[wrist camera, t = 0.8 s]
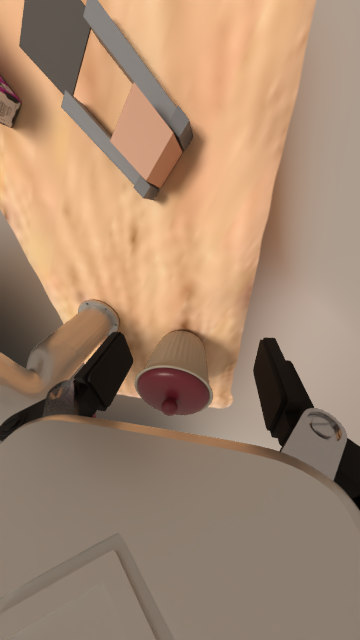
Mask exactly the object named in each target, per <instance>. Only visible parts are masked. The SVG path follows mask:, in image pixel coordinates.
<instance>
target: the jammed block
mask: <svg viewBox="0 0 360 640" xmlns="http://www.w3.org/2000/svg"><path fill="white" fill-rule="evenodd" d="M110 142H111V143H112V144H113V145H114V146H115V147H116V148H117V149H118V151H119V152H120V153H121V154H122V155H123V156H124V157H125V158H126V159H127V160H128V162H129V163H130V164H131V165H132V166H133V167H134V168H135V169H136V170H137V172H138V173H139V174H140V175H141V176H142V177H143V178H144V179H145V180H146V181H147V182H149V183H151V184H153V185H155V186H157V187H159V188H161V186H162V185H163V183H164V182H165V180H166V178H167V177H168V175H169V174H170V172H171V171H172V169H173V167H174V166H175V164H176V163H177V161H178V159H179V158H180V156H181V155H182V153H183V152H182V150H181V148H180V146H179V144H178V142H177V140H176V138H175V135H174V133H173V132H172V130H171V129H170V128H169V127H168V125H167V124H166V123H165V121H164V120H163V119H162V118H161V116H160V115H159V114H158V112H157V111H156V110H155V109H154V107H153V106H152V105H151V103H150V102H149V101H148V99H147V98H146V97H145V96H144V94H143V93H142V92H141V90H140V89H139V88H138V87H137V85H136V84H135V83H133V85H132V88H131V90H130V93H129V95H128V98H127V100H126V103H125V105H124V108H123V110H122V113H121V115H120V117H119V120H118V122H117V125H116V127H115V130H114V132H113V135H112V137H111V140H110Z"/></svg>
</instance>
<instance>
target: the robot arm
mask: <svg viewBox="0 0 360 640" xmlns="http://www.w3.org/2000/svg"><path fill="white" fill-rule="evenodd" d="M118 328H119V319H118V316H117V314H116V313H115V311H114V310H113V309H112V308H111V307H109V306H108V305H107V304H105V303H103V302H101V301H98V300H87V301H85V302H83V303H82V304H81V305H80V306H79V309H78V314H77V315H76V316H74V317H73V318H72V319H70V320H69V321H68V322H66V323H65V324H64V325H62V326H61V327H60V328H59V329H57V330H56V331H55V332H53V333H52V334H51V335H49V336H48V337H47V338H45V339H44V340H43V341H41V342H40V343H39V344H38V345H37V346H35V348H34V349H33V350H32V352H31V354H30V356H29V359H28V363H27V368H26V369H25V368H23V367H21V366H20V365H18V364H17V363H15V362H14V361H12V360H11V359H10V358H8V357H7V356H5V355H4V354H2V353H1V352H0V640H360V447H359V446H358V445H356V444H355V443H354V442H352V441H351V440H349V439H348V438H347V434H346V431H345V429H344V427H343V426H342V425H341V423H340V422H339V421H338V420H337V419H336V418H335V417H333V416H332V415H331V414H329V413H327V412H325V411H323V410H320V409H317V408H314V406H313V404H312V402H311V400H310V398H309V396H308V394H307V392H306V390H305V388H304V386H303V384H302V382H301V380H300V378H299V376H298V374H297V372H296V370H295V368H294V366H293V364H292V363H291V361H286V360H285V359H284V356H283V354H282V352H281V350H280V348H279V346H278V343H277V341H276V339H275V338H264V339H263V340H260V343H259V348H258V351H257V356H256V360H255V364H254V370H253V371H254V377H255V381H256V386H257V390H258V394H259V399H260V403H261V407H262V412H263V416H264V420H265V425H266V428H267V430H269V431H270V432H271V436H272V437H274V438H278V441H279V444H280V445H281V446H282V448H281V449H280V451H275V450H273V449H269V448H264V447H260V446H256V445H251V444H246V443H240V442H235V441H230V440H224V439H219V438H213V437H207V436H201V435H195V434H190V433H184V432H178V431H172V430H166V429H160V428H154V427H148V426H142V425H136V424H130V423H124V422H118V421H111V420H105V419H99V418H96V416H95V412H96V410H100V411H106V409H107V407H108V406H110V405H111V403H112V401H113V399H114V397H115V395H116V394H117V392H118V390H119V388H120V386H121V384H122V382H123V381H124V379H125V377H126V375H127V373H128V371H129V369H130V368H131V366H132V364H133V358H132V355H131V353H130V350H129V347H128V345H127V342H126V339H125V337H124V335H123V334H122V333H121V332H116V331H117V330H118ZM105 336H108V338H107V339H106V340H105V341H104V342H103V344H102V345H101V346H100V347H99V348H98V349H97V351H96V352H95V353H94V354H93V355H92V357H91V358H90V359H89V360H88V361H87V362H86V364H85V365H84V366H83V367H82V369H81V370H80V371H79V372H78V373H77V374H76V375H75V377H74V379H75V380H74V381H72V380H69V379H70V378H71V376H72V375H73V374H74V373H75V371H76V370H77V369H78V368H79V367H80V366H81V364H82V363H83V362H84V361H85V360H86V359H87V357H88V356H89V355H90V354H91V353H92V352H93V350H94V349H95V348H96V347H97V346H98V345H99V343H100V342H101V341H102V340H103V339H104V337H105Z"/></svg>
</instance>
